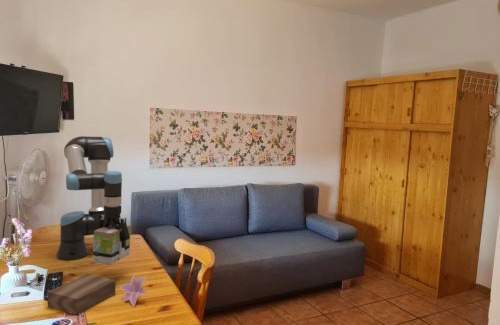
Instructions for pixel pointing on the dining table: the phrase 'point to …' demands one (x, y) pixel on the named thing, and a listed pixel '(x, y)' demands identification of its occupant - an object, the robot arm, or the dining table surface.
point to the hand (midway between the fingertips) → (111, 252)
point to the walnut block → (81, 293)
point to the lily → (133, 289)
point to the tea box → (108, 245)
